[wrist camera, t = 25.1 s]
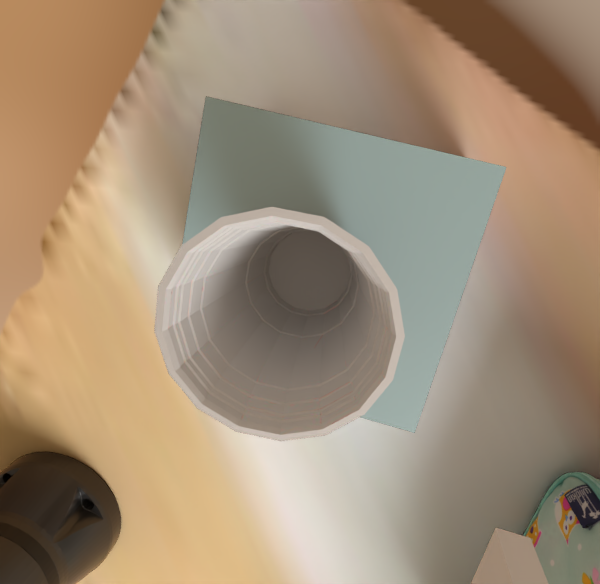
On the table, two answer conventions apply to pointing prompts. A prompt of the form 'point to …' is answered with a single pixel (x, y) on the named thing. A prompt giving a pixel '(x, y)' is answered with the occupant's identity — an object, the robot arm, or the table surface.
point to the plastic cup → (279, 324)
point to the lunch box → (569, 530)
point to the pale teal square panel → (358, 216)
